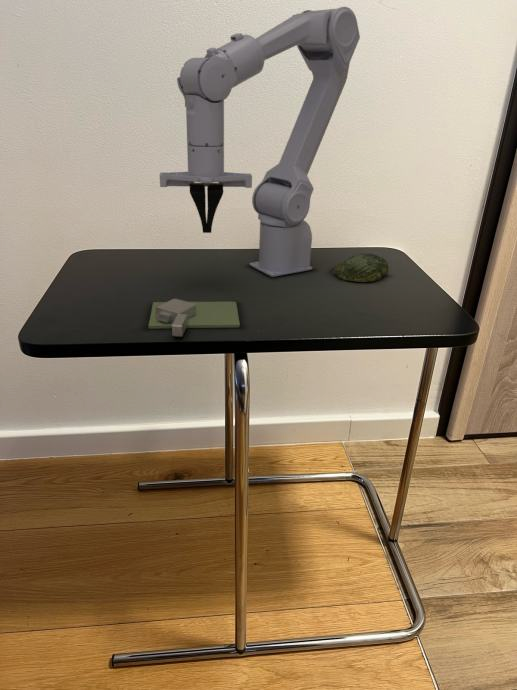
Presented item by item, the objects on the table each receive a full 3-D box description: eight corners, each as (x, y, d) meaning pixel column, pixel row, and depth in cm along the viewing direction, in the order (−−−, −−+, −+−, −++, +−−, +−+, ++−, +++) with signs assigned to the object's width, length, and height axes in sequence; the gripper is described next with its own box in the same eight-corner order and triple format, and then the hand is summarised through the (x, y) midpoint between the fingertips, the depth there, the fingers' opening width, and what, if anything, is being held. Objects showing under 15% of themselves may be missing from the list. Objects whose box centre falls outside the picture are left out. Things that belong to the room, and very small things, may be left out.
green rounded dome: (337, 243, 105) (390, 248, 103) (335, 263, 107) (387, 268, 105) (333, 262, 96) (390, 267, 95) (331, 283, 98) (387, 289, 97)
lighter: (173, 308, 83) (138, 326, 76) (173, 298, 82) (138, 315, 75) (212, 319, 79) (179, 338, 73) (212, 308, 79) (179, 327, 72)
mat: (236, 304, 86) (236, 301, 86) (239, 327, 78) (239, 324, 78) (153, 305, 85) (153, 302, 85) (148, 328, 77) (148, 325, 77)
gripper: (156, 146, 80) (161, 237, 86) (254, 148, 81) (252, 237, 87) (159, 141, 86) (163, 226, 92) (250, 143, 87) (248, 226, 94)
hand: (206, 231), depth 90 cm, fingers closed
